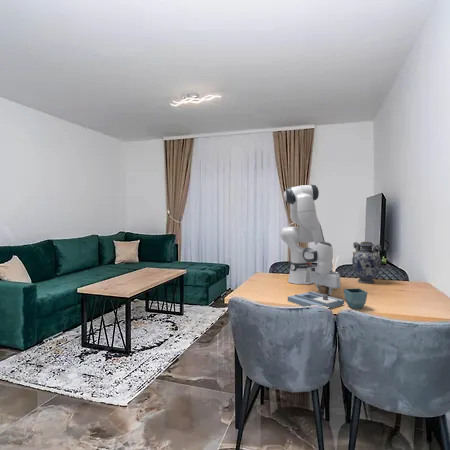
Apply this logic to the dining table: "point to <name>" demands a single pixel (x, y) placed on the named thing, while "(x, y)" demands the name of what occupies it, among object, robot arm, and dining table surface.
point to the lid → (325, 299)
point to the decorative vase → (366, 261)
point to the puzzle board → (307, 300)
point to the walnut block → (324, 290)
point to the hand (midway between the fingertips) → (324, 293)
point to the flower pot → (355, 297)
